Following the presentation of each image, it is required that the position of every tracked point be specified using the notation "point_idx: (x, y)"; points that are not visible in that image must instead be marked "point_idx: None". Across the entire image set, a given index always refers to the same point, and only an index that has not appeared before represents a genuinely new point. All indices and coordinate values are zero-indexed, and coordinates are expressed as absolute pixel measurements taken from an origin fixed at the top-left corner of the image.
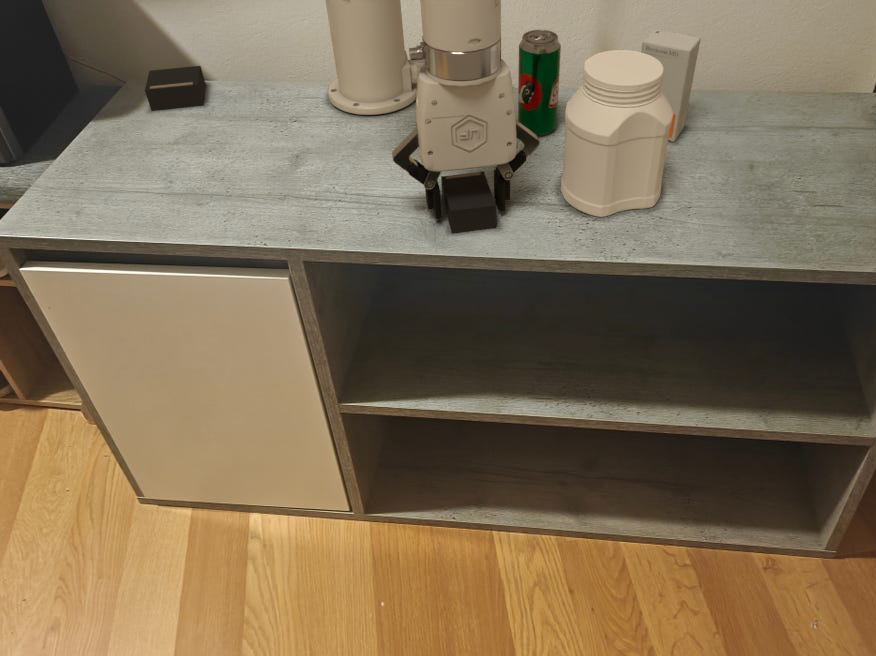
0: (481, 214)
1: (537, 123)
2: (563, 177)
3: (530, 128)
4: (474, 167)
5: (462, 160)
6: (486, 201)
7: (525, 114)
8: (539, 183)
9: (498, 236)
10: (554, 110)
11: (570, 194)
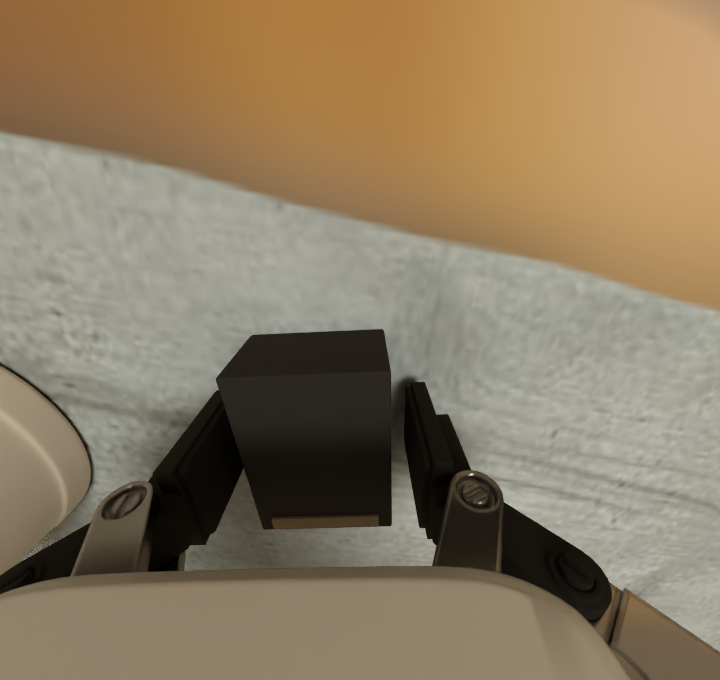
0: (279, 359)
1: None
2: (32, 483)
3: None
4: (229, 577)
5: (295, 677)
6: (251, 403)
7: None
8: None
9: (243, 294)
10: None
11: (12, 422)
